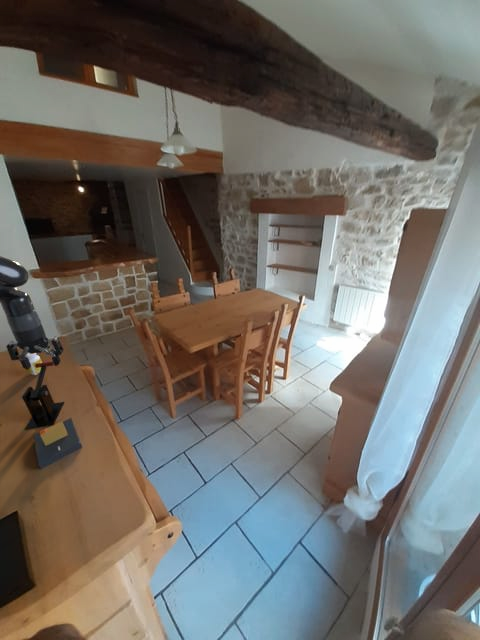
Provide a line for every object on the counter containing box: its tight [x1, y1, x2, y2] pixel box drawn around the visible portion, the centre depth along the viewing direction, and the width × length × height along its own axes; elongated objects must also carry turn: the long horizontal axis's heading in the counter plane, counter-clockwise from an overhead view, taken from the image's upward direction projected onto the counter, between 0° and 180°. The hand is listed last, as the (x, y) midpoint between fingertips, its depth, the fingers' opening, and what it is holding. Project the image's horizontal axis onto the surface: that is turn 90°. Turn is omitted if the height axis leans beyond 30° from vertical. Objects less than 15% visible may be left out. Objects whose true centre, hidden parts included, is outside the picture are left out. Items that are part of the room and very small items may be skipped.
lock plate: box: [32, 417, 83, 470], centre depth 75 cm, size 12×10×3 cm
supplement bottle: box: [26, 353, 43, 376], centre depth 103 cm, size 5×5×10 cm
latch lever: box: [29, 361, 55, 401], centre depth 83 cm, size 13×5×2 cm, turn 15°
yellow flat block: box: [39, 421, 68, 446], centre depth 73 cm, size 6×2×5 cm, turn 132°
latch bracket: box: [21, 384, 65, 431], centre depth 82 cm, size 10×8×12 cm
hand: (43, 366), depth 86 cm, fingers open, 8 cm apart
